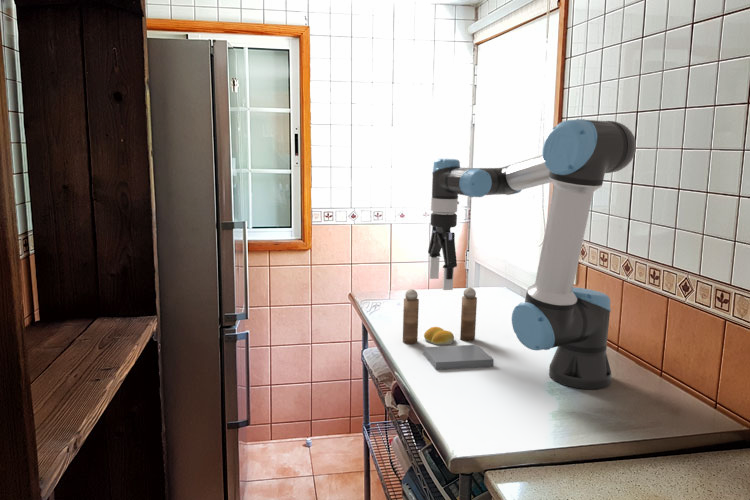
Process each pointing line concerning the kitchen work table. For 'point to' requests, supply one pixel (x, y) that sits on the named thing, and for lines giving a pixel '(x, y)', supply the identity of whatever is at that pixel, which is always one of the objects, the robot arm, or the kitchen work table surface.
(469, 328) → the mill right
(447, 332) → the bread roll
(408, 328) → the mill left
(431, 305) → the kitchen work table surface
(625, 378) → the kitchen work table surface
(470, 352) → the slate board
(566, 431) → the kitchen work table surface
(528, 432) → the kitchen work table surface
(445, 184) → the robot arm
